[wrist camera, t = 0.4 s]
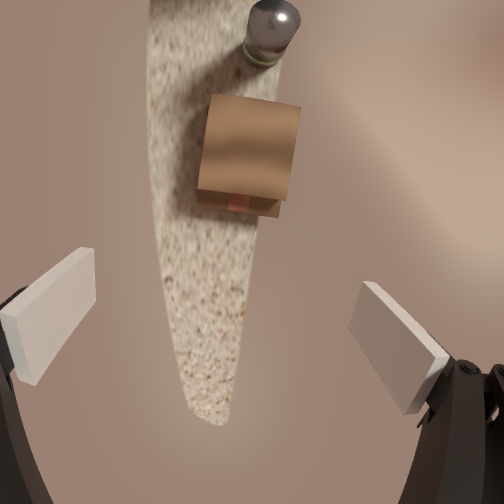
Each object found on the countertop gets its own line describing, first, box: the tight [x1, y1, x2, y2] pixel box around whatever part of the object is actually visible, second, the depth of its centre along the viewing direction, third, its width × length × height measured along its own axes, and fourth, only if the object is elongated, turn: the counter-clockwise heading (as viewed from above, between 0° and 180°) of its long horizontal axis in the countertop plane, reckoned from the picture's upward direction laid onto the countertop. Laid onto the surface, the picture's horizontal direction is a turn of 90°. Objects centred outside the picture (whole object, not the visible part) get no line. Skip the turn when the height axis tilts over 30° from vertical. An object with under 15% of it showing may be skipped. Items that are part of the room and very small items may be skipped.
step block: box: [197, 93, 301, 218], centre depth 35 cm, size 14×10×5 cm
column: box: [243, 0, 301, 68], centre depth 28 cm, size 5×5×11 cm
